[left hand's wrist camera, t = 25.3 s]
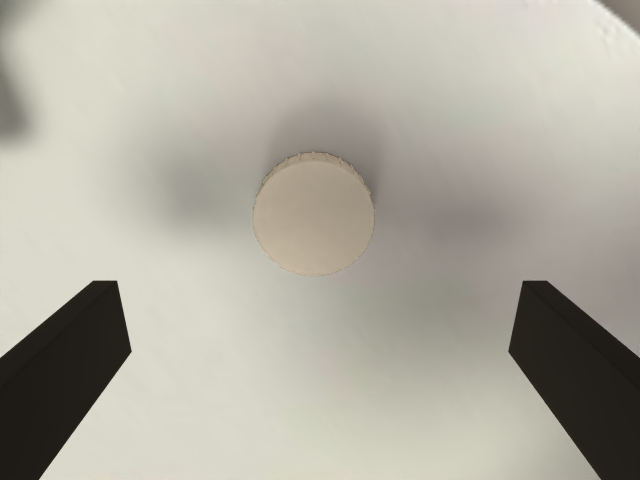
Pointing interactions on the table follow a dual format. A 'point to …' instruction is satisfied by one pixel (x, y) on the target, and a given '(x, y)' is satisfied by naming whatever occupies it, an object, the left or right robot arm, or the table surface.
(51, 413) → the left robot arm
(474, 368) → the table surface
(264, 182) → the lid
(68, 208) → the table surface
